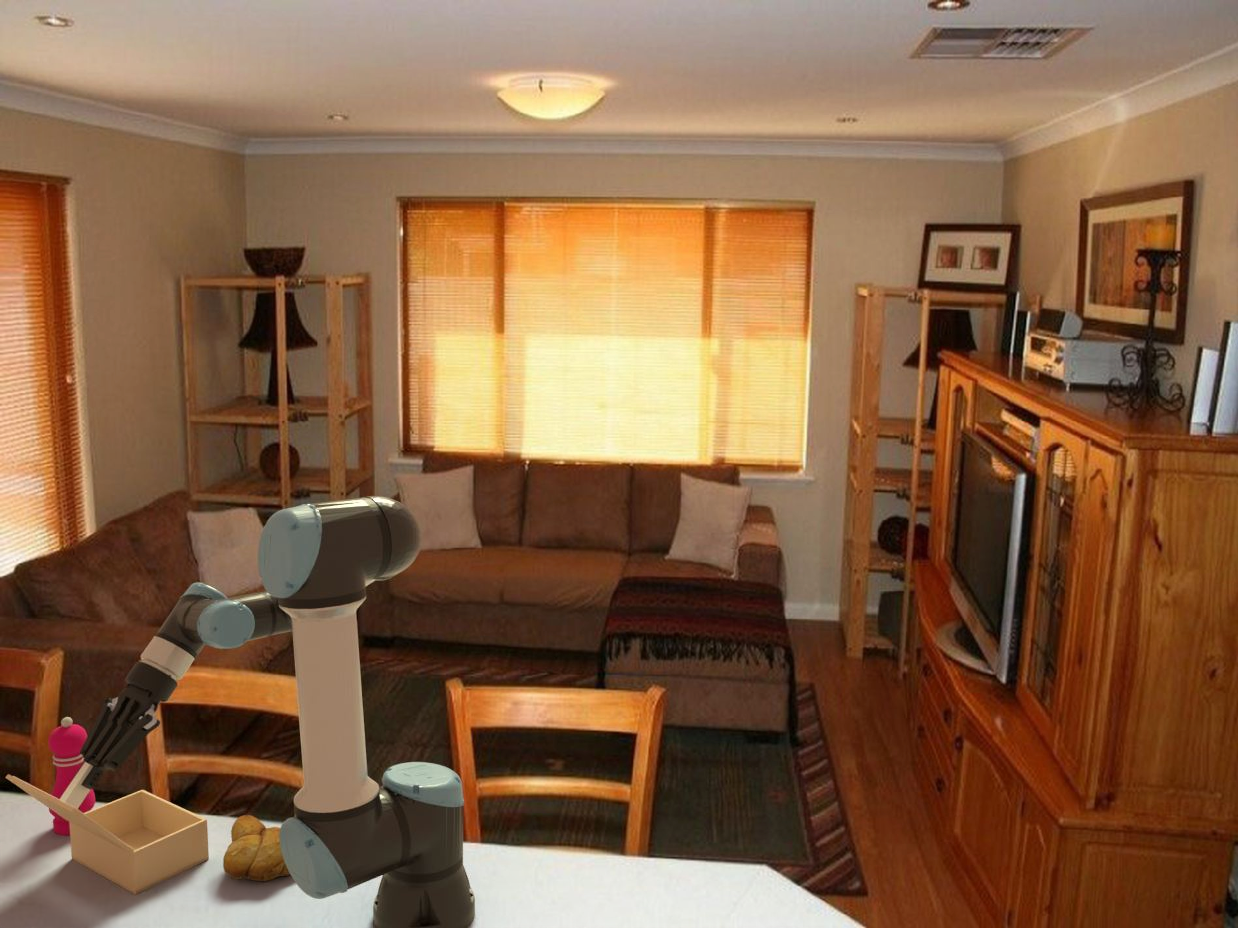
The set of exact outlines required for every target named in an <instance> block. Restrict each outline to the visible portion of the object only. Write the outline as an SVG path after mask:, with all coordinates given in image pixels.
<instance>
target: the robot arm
mask: <svg viewBox="0 0 1238 928" xmlns="http://www.w3.org/2000/svg"><path fill="white" fill-rule="evenodd" d="M421 546H422V530H421V527H420V524H419V522H418V519H417V517H416V516H415V514H414V513H413V512H412V511H411V509H409V508H408V507H407V506H406V505H404V504H403V503H401V502H400V501H398V500H395V499H393V498H390V497H386V496H379V495H370V496H362V497H357V498H351V499H350V498H349V499H341V500H332V501H324V502H314V503H305V504H304V503H303V504H300V505H297V506H293V507H288V508H283V509H280V510H278V511H276V512H274V513H273V514H271V516H270V517H269V518H268V520H266V523H265V525H264V526H263V528H262V530H261V533H260V537H259V541H258V546H257V568H258V569H257V570H258V574H259V576H260V577H261V584H262V586H263V588H264V589H265V590H264V591H260V592H254V593H248V594H243V595H239V596H233V597H232V596H231V597H227V596H226V595H225V594H224V593H222V592H221V591H220V590H218V589H216V588H214V587H212V586H210V585H207V584H205V583H203V582H194V583H192V584H191V585H189V587H188V588H187V589H186V591H185V592H184V593H183V594H182V595H181V596H180V597H179V598H178V602H176V604H175V606H174V607H173V608H172V611H171V612H170V613H169V615H168V616H167V617H166V619H165V620H164V622H163V624H162V625H161V626H160V628H159V629H158V631H157V632H156V634H155V635H154V636H153V638H152V639H151V641H150V642H149V643H148V645H147V646H146V647H145V649H144V651H143V652H141V654H140V659H141V661H137V662H136V663H135V664H134V665H133V667H132V668H131V670H130V671H129V672H128V674H127V675H126V677H125V682H126V684H127V686H126V687H125V688H124V689H123V690H122V691H121V692H120V693H119V695H118V696H117V697H115V698H111V697H108V696H106V697H105V698H104V699H103V701H102V703H101V704H102V705H101V709H100V712H99V714H98V716H97V717H96V719H95V722H94V724H93V725H92V727H91V729H90V731H89V733H88V734H87V739H86V741H85V743H84V745H83V746H82V748H81V750H80V754H81V755H83V757H84V759H83V760H84V761H83V764H82V765H81V767H80V768H79V770H78V772H77V773H76V774H75V776H74V777H73V780H72V782H71V783H70V785H69V786H68V788H67V789H66V791H65V792H64V794H63V795H62V796H61V798H60V800H62V801H64V802H65V803H67V804H69V805H71V806H73V807H75V808H77V809H78V808H79V806H80V805H81V803H82V802H83V800H84V799H85V797H86V796H87V794H88V793H89V791H90V790H91V789H94V787H95V786H96V785H97V783H98V782H99V780H100V778H101V777H102V776H103V774H104V773H106V772H107V771H113V772H115V771H117V770H118V769H119V768H120V767H121V766H122V765H123V763H124V762H125V761H126V760H127V759H128V758H129V756H131V755H132V753H133V752H134V751H135V750H136V749H137V748H138V746H139V745H140V744H141V743H142V741H143V740H145V738H146V737H147V736H148V735H149V734H150V733H151V732H153V731H154V730H155V729H156V728H158V727H159V726H160V724H161V721H160V720H159V719H158V718H156V714H155V713H156V712H157V710H158V707H159V705H160V703H166V702H167V701H169V699H170V698H171V696H172V694H173V693H174V692H175V690H176V689H177V688H178V681H177V680H182V679H183V677H184V676H185V675H186V673H187V671H188V670H189V668H190V667H191V665H192V664H193V662H194V661H195V660H196V659H197V657H198V656H199V654H200V653H201V651H202V650H203V648H204V647H205V646H208V647H211V648H214V649H220V650H226V649H237V648H239V647H241V646H243V645H244V644H246V642H250V641H254V640H258V639H263V638H267V637H270V636H274V635H278V634H284V633H288V632H292V641H293V643H292V644H293V655H294V656H293V657H294V669H295V682H296V683H295V684H296V695H297V706H298V708H297V709H298V722H299V734H300V736H299V737H300V746H301V747H300V748H301V761H302V773H303V775H302V776H303V786H302V787H301V788H300V789H299V790H298V792H297V793H296V794H295V795H294V797H293V809H294V810H293V811H294V816H291V817H288V818H286V820H284V821H283V822H282V824H281V826H280V827H279V828H280V831H279V842H280V848H281V852H282V855H283V858H284V861H285V864H286V866H287V868H288V871H289V873H290V874H289V875H291V878H292V879H293V881H294V883H295V884H296V885H297V887H298V888H299V889H300V890H301V892H303V893H305V895H307V896H309V898H313V899H316V900H321V899H326V898H329V897H331V896H332V897H333V896H334V895H338V894H344V893H346V892H348V890H350V889H353V888H355V887H357V886H361V885H362V884H364V883H367V882H369V881H372V880H374V879H377V878H379V877H381V880H380V882H379V885H378V886H379V887H378V890H377V894H376V895H375V898H374V900H373V901H374V902H373V907H372V910H373V911H372V918H373V926H374V928H468V927H469V926H470V925H471V924H472V922H473V920H474V918H475V914H476V913H475V912H476V902H475V901H476V900H475V899H476V898H475V894H474V891H473V889H472V887H471V883H470V880H469V877H468V875H467V872H466V869H465V866H464V805H465V799H464V793H463V791H464V790H463V782H462V779H461V778H460V776H459V775H458V773H456V771H455V770H452V769H451V768H449V767H447V766H445V765H442V764H437V763H432V762H424V761H411V762H410V761H409V762H402V763H401V762H400V763H398V764H394V765H391V766H390V767H388V768H387V769H386V770H385V771H384V773H383V774H382V775H383V776H382V778H381V783H382V786H380V785H379V783H377V781H375V780H373V779H372V778H371V777H369V775H368V764H367V752H366V736H365V735H366V734H365V722H364V721H365V720H364V708H363V705H364V704H363V695H362V693H363V691H362V680H361V679H362V678H361V677H362V676H361V663H360V651H359V650H360V649H359V637H358V636H359V633H358V632H359V631H358V620H357V610H358V608H360V606H361V605H363V603H364V601H366V599H367V590H366V589H367V586H368V585H370V584H372V583H374V582H375V581H385V580H389V579H391V578H394V577H395V576H397V575H399V574H400V573H402V572H403V571H405V570H406V569H407V568H409V567H410V566H411V565H412V564H413V562H414V561H415V560H416V558H417V557H418V555H419V553H420V551H421V548H422V547H421Z"/></svg>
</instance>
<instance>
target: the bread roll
mask: <svg viewBox="0 0 1238 928" xmlns="http://www.w3.org/2000/svg"><path fill="white" fill-rule="evenodd" d="M280 828H281V827H277V826H272V827H266V825H264V823H262V822H261V821H260V820H259V819H258V818H257V817H255V816H253V815H251V814H243V815H241V816H239V817H237V818H236V820H235V821H234V822H233V824H232V827H231V830H230V832H231V833H230V834H231V836H230V837H231V843H230V844H229V845H228V846H227V849H226V851H225V853H224V855H223V862H222V867H223V870H224V872H225V873H226V875H228V876H229V877H231V878H232V879H238V880H239V879H245V878H247V879H248V880H251V881H259V882H260V881H261V882H262V881H269V880H274V879H275V878H277V877H282V876H284V877H286V876H290V875H291V874H290V873H289V871H288V868H287V866H286V864H285V861H284V858H283V855H282V852H281V848H280V842H279V831H280Z"/></svg>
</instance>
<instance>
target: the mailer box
mask: <svg viewBox="0 0 1238 928" xmlns="http://www.w3.org/2000/svg"><path fill="white" fill-rule="evenodd" d="M84 814H85V815H86V816H88V817H89V818H91V819H92V820H93V821H95V822H96V823H98V824H99V825H100V826H102V827H103V828H105V829H106V830H107V831H109V832H110V833H112V834H113V835H114V836H116V837H117V838H119V839H120V840H121V841H123V842H124V843H126V844H127V845H128V846H130V847H131V849H133V850H134V852H133V853H132V854H130V853H128V852H126V851H124V850H122V849H121V848H119V847H117V846H115V845H113V844H111V843H109V842H107V841H105V840H103V839H102V838H100V837H98V836H96V835H94V834H92V833H90V832H88V831H86V830H84V829H83V828H81V827H79V826H77V825H75V824H73V823H71V822H69V824H70V835H69V836H70V837H69V838H70V850H71V851H70V852H71V860H73V861H75V862H77V863H79V864H81V865H82V866H84V867H86V868H87V869H89V870H91V871H93V872H95V873H96V874H98V875H100V876H102V877H103V878H105V879H107V880H109V881H110V882H113V883H115V884H116V885H118V886H120V887H121V888H123V889H126V891H129V892H130V893H131V894H134V895H138V894H140V893H142V892H144V891H146V890H147V889H151V888H152V887H155V886H157V885H158V884H161V883H163V882H165V881H167V880H168V879H169V880H170V879H171V878H174V877H175V876H177V875H179V874H181V873H183V872H185V871H187V870H189V869H191V868H193V867H195V866H198V865H200V864H202V863H204V862H206V861H208V860H210V857H209V836H208V835H209V832H208V831H209V830H208V819H206V818H204V817H202V816H200V815H198V814H197V813H194V812H192V811H190V810H187V809H185V808H183V807H181V806H179V805H177V804H174V803H172V802H170V801H168V800H166V799H164V798H161V797H160V796H157V795H155V794H153V793H151V792H149V791H147V790H145V789H141V790H138V791H135V792H134V793H133V792H132V793H131V794H127V795H126V796H123V797H121V798H118V799H115V800H113V801H111V802H108V803H105V804H103V805H100V806H99V807H95V808H94V809H93V808H92V809H91V810H90V811H88V812H85V813H84Z"/></svg>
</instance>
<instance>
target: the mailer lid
mask: <svg viewBox="0 0 1238 928" xmlns="http://www.w3.org/2000/svg"><path fill="white" fill-rule="evenodd" d="M5 779H7V780H8V781H10V782H11V783H12V784H14V785H16V786H17V787H18V788H20V789H21V790H23V791H24V792H25V793H27V794H28V795H29V796H31V797H32V798H34V799H35V800H37V801H38V802H40V803H41V804H43V806H46V807H47V808H48V809H49V808H50V809H51V810H53V811H54V812H55V813H57V814H58V815H60V816H61V817H63V818H64V819H65V820H67V821H69V822H71V823H73V824H75V825H77V826H79V827H81V828H83V829H84V830H86V831H88V832H90V833H92V834H94V835H96V836H98V837H100V838H102V839H103V840H105V841H107V842H109V843H111V844H113V845H115V846H117V847H119V848H121V849H122V850H124V851H126V852H128V853H130V854H132V853H133V852H134V850H133V849H131V847H130V846H128V845H127V844H126V843H124V842H123V841H121V840H120V839H119V838H117V837H116V836H114V835H113V834H112V833H110V832H109V831H107V830H106V829H105V828H103V827H102V826H100V825H99V824H98V823H96V822H95V821H93V820H92V819H91V818H89V817H88V816H86V815H85V814H84V813H82V812H81V811H79V810H78V809H77V808H75V807H73V806H71V805H69V804H67V803H65V802H64V801H62V800H60V799H58V798H56V797H54V796H52V795H51V793H48V792H46V791H43V790H42V789H40V788H38V787H36V786H34V785H32V784H30V783H29V782H27V781H25V780H22V779H20V778H19V777H17V776H14V775H11V774H9V773H8V774H7V775H6V776H5Z"/></svg>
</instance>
